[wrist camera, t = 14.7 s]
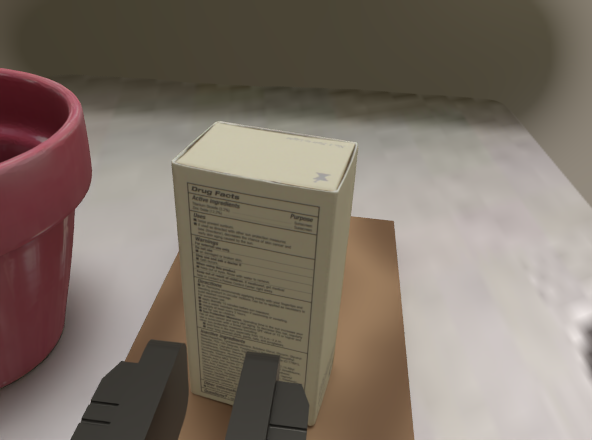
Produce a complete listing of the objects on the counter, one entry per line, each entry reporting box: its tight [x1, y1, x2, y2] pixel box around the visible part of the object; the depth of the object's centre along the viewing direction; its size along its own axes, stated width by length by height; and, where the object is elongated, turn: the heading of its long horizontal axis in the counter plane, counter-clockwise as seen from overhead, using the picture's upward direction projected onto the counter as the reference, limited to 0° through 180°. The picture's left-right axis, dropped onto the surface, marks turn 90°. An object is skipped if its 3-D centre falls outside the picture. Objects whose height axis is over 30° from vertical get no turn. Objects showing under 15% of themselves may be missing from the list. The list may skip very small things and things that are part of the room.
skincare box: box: [171, 121, 358, 426], centre depth 24 cm, size 6×4×12 cm
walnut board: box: [125, 216, 414, 440], centre depth 32 cm, size 14×22×2 cm, turn 174°
